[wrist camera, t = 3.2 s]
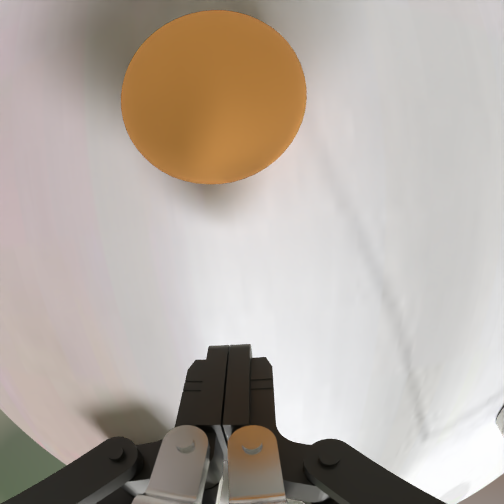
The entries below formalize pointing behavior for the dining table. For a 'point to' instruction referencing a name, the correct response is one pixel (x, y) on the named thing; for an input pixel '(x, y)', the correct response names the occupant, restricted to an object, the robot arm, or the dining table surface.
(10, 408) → the dining table surface
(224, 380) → the robot arm
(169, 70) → the ball
